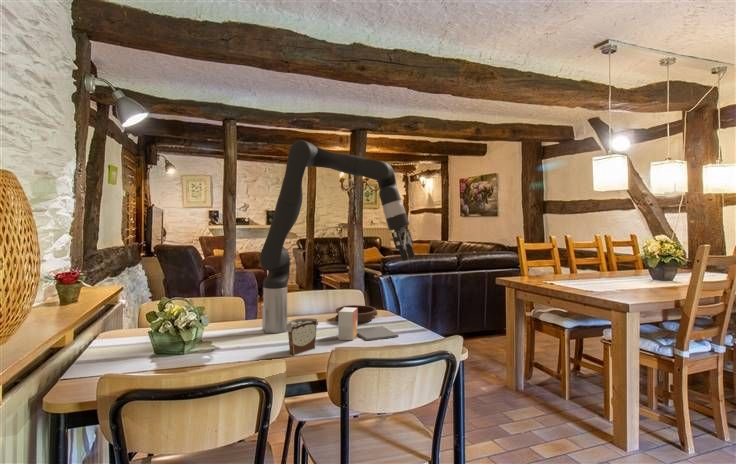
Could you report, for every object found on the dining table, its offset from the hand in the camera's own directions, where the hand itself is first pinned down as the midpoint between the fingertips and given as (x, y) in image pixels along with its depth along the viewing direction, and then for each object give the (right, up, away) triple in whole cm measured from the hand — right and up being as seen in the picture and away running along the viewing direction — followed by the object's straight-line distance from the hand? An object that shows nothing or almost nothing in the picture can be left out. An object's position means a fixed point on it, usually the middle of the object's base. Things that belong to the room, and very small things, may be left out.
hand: (408, 258), depth 150 cm
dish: (-20, -29, +35) cm, 50 cm away
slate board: (-12, -30, +13) cm, 34 cm away
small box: (-22, -30, +8) cm, 38 cm away
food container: (-38, -30, -8) cm, 49 cm away
